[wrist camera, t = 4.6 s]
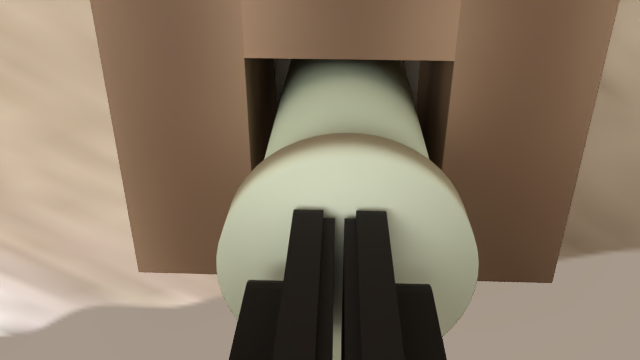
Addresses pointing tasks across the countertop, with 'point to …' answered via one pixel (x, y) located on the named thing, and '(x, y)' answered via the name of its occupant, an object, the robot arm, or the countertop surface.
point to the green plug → (350, 186)
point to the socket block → (360, 44)
